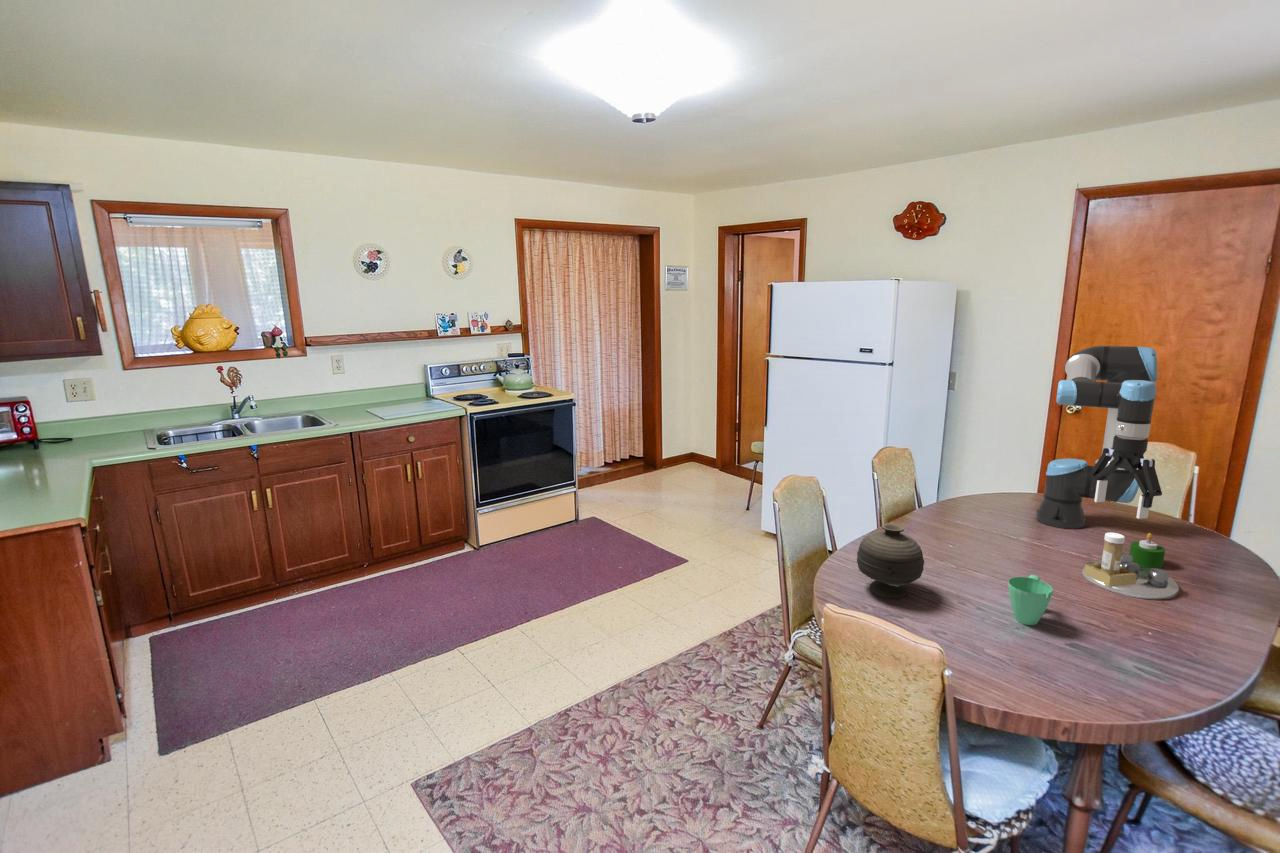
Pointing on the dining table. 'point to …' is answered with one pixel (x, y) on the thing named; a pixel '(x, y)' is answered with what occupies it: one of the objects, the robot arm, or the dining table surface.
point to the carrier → (1132, 580)
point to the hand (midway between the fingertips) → (1119, 509)
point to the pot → (890, 561)
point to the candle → (1147, 553)
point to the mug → (1029, 598)
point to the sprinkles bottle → (1112, 553)
